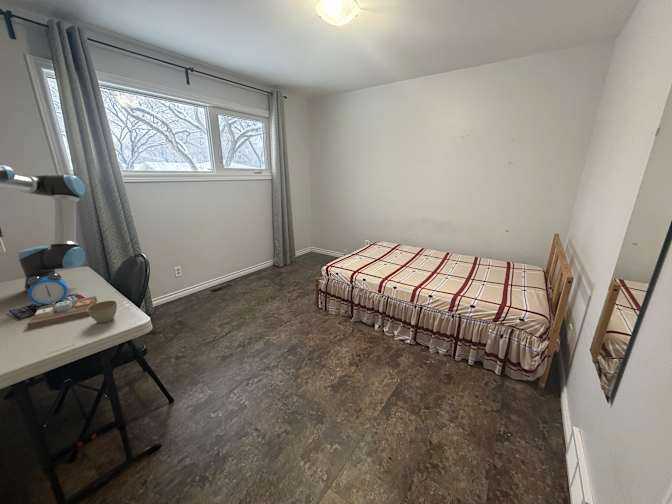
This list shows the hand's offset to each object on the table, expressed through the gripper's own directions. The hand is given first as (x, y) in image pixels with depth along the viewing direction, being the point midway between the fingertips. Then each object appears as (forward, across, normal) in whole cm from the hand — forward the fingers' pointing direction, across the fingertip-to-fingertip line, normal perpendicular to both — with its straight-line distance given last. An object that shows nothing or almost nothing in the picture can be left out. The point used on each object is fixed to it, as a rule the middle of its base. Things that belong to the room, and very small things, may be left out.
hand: (0, 252), depth 118 cm
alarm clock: (+30, -5, +9) cm, 31 cm away
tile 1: (+29, +13, +10) cm, 33 cm away
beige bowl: (+30, +32, +33) cm, 55 cm away
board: (+29, +13, +17) cm, 36 cm away
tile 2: (+29, +13, +24) cm, 40 cm away
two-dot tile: (+27, +13, +17) cm, 35 cm away
